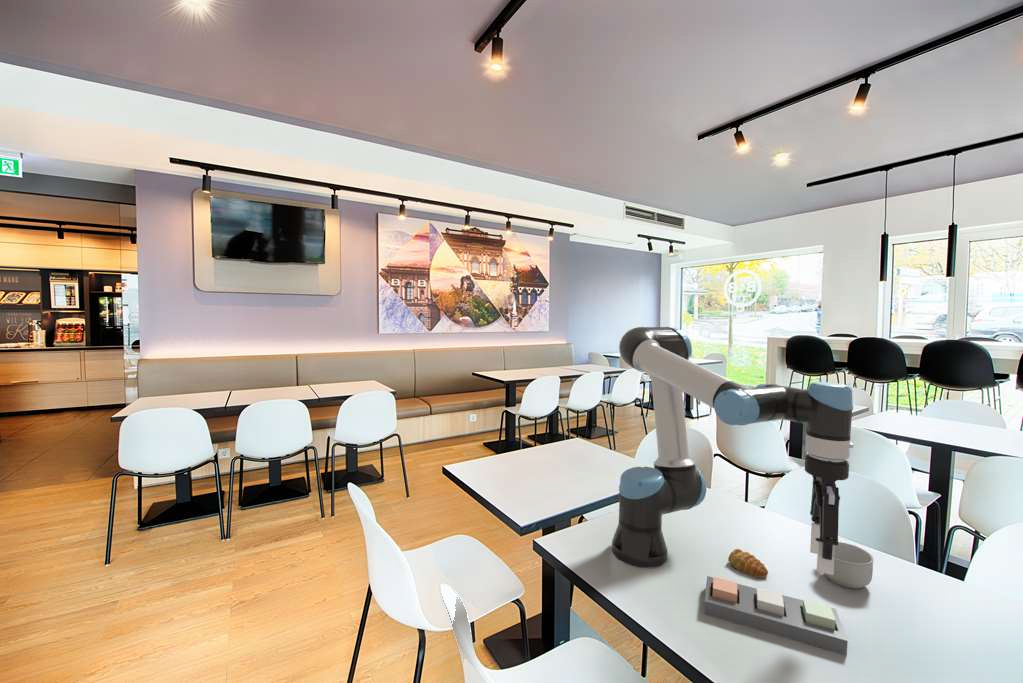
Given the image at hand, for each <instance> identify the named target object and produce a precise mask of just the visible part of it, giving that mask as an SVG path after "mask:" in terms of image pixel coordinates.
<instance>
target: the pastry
mask: <svg viewBox="0 0 1023 683" xmlns="http://www.w3.org/2000/svg"><path fill="white" fill-rule="evenodd" d="M727 561H728V562H729V564H730V565H731V567H732V568H735V569H736V570H738V571H739V572H742V573H743V574H745V575H748V576H750V577H754V578H758V579H764V578H766V577H768V574H769V570H768V569H767V567H766V566H765V564H764V563H762V562H761V561H760V559H757V558H756V556H755V555H754V554H751V553H750V552H749V551H743V550H742V549H740V548H735V549H733V550H732V551H731V552H730V554H729V555H728V558H727Z"/></svg>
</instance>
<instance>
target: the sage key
mask: <svg viewBox="0 0 1023 683" xmlns="http://www.w3.org/2000/svg"><path fill="white" fill-rule="evenodd" d="M831 608H832V607H831V606H830V605H826V604H823V603H818V602H815V601H811V600H807V599H803V614H804V618H805V622H806V623H810V624H814V625H818V626H821V627H825V628H829V629H832V630H835V623H836V620H835V617H834V614H833V612H832V609H831Z"/></svg>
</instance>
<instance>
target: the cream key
mask: <svg viewBox="0 0 1023 683" xmlns="http://www.w3.org/2000/svg"><path fill="white" fill-rule="evenodd" d="M756 588H757V590H756V602H757V609H759V610H762V611H766V612H770V613H773V614H777V615H781V616H784V602H783V597H782V595H783V594H782V593H778V592H775V591H770V590H767V589H764V588H759V587H756Z"/></svg>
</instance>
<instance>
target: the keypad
mask: <svg viewBox="0 0 1023 683" xmlns="http://www.w3.org/2000/svg"><path fill="white" fill-rule="evenodd" d="M713 579H714V576H710V575H709V576H708V575H707V576H706V586H705V593H704V594H705V595H704V609H703V610H704V611H703V613H704V615H707V616H710V617H714V618H717V619H720V620H722V621H723V620H724V621H726V622H727V621H728V622H730V623H734V624H737V625H741V626H745V627H748V628H750V629H755V630H758V631H762V632H765V633H768V634H770V635H771V634H772V635H776V636H778V637H783V638H786V639H788V640H793V641H795V642H798V643H799V642H800V643H803V644H805V645H810V646H813V647H817V648H819V649H823V650H827V651H830V652H833V653H837V654H841V655H845V656H847V655H848V639H847V635H846V633H845V631H844V627H843V624H842V622H841V619H840V616H839V613H838V611H837V608H834V607H831V609H832V612H833V614H834V617H835V620H836V623H835V630H832V629H829V628H825V627H821V626H818V625H814V624H810V623H806V622H805V618H804V614H803V600H804V599H803V600H802V599H799V598H795V597H792V596H787V595H785V594H782V597H783V602H784V616H781V615H777V614H773V613H770V612H766V611H762V610H759V609H757V602H756V590H757V588H758V587H753V586H748V585H745V584H740V583H737V603H733V602H729V601H726V600H722V599H718V598H715V597H713Z"/></svg>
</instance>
